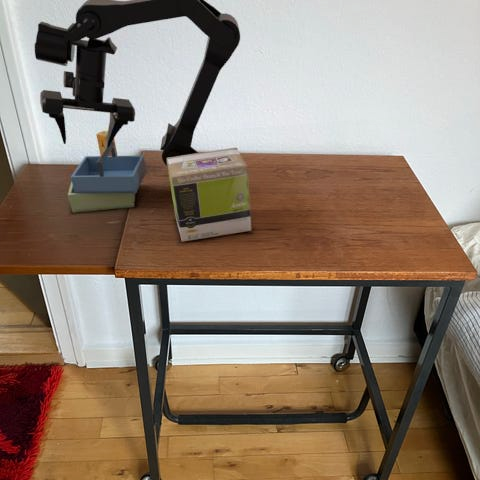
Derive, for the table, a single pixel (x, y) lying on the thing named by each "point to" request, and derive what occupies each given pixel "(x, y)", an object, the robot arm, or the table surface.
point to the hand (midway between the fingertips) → (86, 144)
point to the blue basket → (109, 173)
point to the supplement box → (104, 142)
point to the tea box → (210, 193)
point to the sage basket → (99, 200)
